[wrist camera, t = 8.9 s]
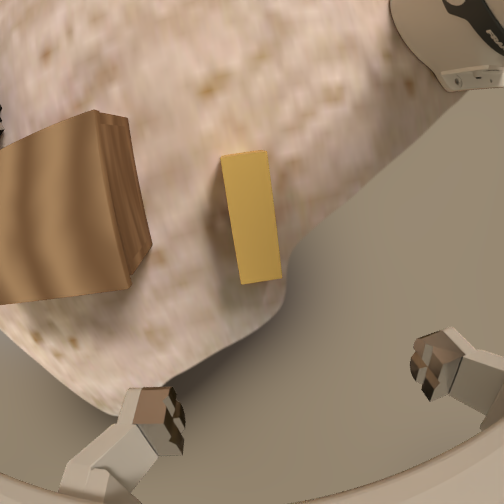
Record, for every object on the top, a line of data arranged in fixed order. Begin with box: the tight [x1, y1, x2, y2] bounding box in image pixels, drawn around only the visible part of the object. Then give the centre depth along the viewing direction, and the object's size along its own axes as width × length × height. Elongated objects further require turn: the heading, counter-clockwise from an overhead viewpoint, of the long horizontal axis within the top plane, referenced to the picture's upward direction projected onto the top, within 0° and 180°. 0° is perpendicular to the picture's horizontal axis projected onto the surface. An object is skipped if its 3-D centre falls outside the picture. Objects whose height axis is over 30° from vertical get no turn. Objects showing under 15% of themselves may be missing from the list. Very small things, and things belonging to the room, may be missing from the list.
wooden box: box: [99, 112, 153, 275], centre depth 26 cm, size 16×14×8 cm
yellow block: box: [220, 150, 282, 285], centre depth 29 cm, size 4×12×5 cm, turn 8°
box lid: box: [0, 110, 132, 305], centre depth 21 cm, size 16×14×1 cm
